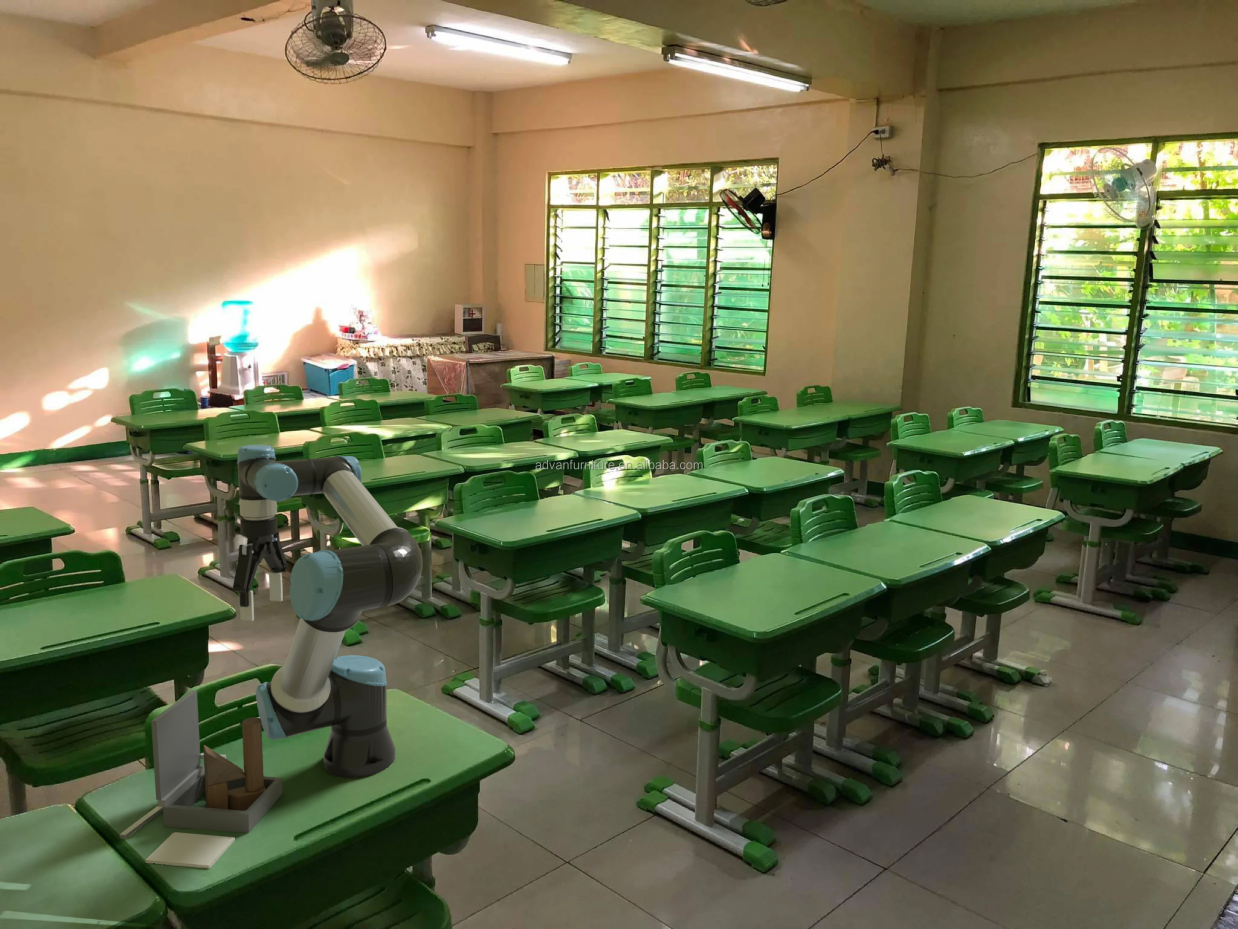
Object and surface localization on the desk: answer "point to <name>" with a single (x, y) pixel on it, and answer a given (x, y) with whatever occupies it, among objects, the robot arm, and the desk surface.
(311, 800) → the desk surface
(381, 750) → the robot arm
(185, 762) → the case
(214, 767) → the wooden toy pieces
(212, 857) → the mat
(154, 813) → the rod
